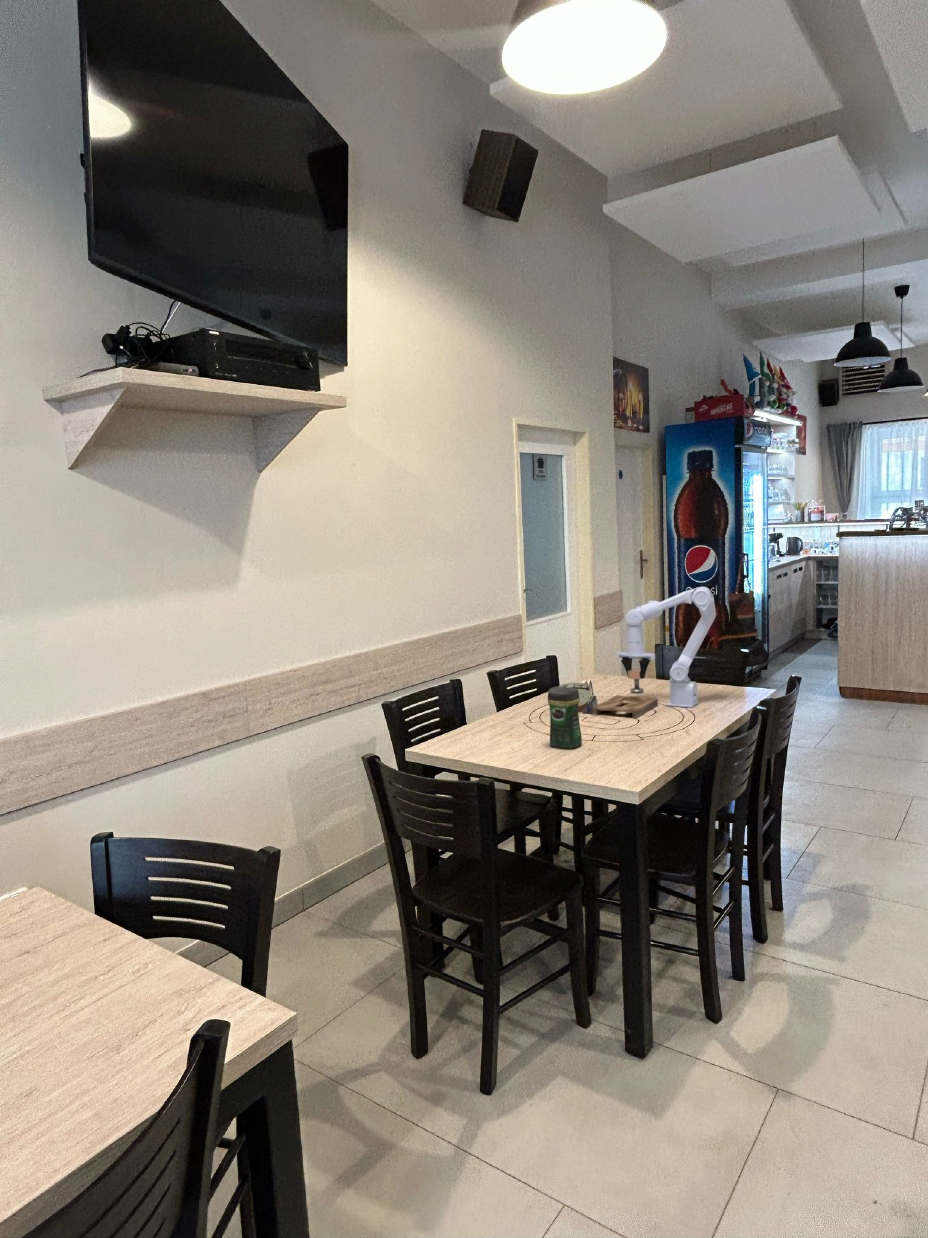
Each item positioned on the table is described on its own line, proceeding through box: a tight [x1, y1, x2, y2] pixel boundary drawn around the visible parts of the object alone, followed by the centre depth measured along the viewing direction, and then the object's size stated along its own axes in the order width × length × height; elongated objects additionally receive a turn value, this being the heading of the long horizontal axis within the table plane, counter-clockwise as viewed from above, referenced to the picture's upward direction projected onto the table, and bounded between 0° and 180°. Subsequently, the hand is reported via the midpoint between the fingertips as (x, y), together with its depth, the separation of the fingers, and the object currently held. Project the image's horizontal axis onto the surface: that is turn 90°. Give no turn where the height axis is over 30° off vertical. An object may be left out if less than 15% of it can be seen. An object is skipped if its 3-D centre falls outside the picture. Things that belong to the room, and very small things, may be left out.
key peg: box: [627, 667, 644, 695], centre depth 295 cm, size 5×5×8 cm
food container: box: [557, 682, 592, 714], centre depth 291 cm, size 12×6×10 cm, turn 84°
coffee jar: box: [547, 686, 583, 749], centre depth 246 cm, size 10×8×19 cm
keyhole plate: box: [592, 694, 659, 719], centre depth 287 cm, size 16×20×3 cm
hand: (636, 677), depth 295 cm, fingers closed on key peg, 5 cm apart
